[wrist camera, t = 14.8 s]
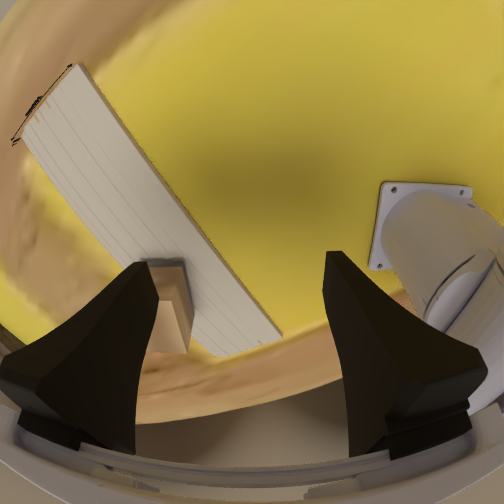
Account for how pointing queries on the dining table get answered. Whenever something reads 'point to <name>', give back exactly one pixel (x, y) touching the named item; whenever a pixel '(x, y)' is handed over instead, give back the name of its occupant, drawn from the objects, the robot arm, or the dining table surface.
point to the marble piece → (8, 343)
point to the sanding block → (171, 308)
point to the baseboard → (138, 209)
